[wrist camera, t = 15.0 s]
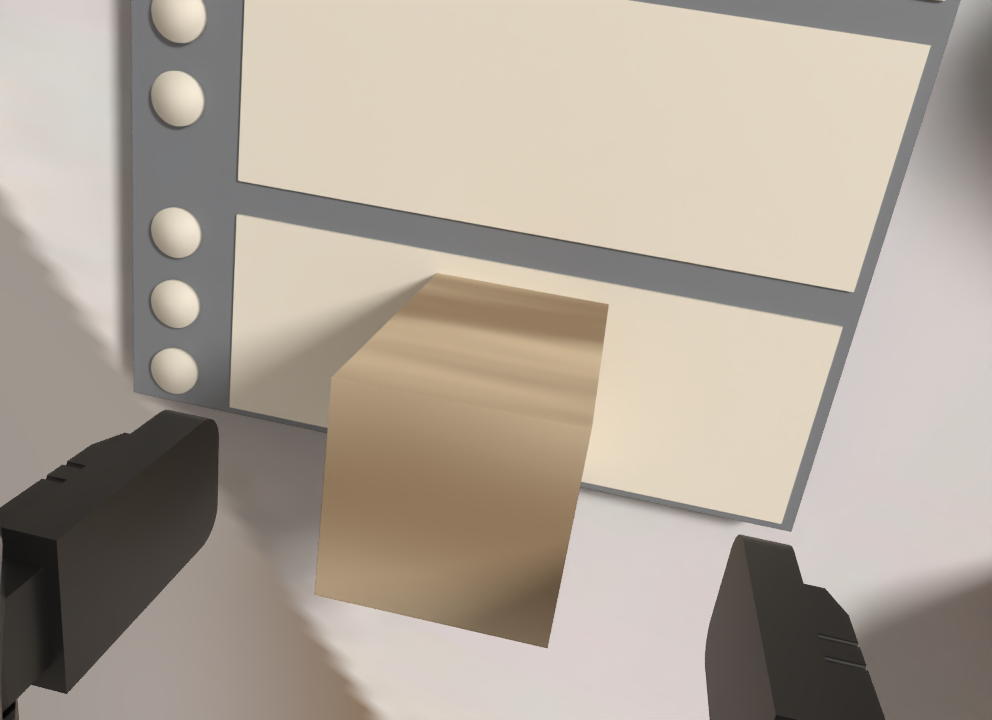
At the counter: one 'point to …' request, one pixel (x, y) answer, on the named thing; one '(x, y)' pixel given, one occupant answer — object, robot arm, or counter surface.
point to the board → (532, 204)
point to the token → (461, 457)
